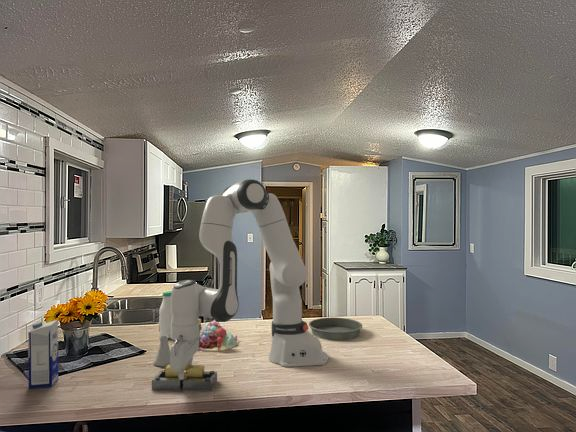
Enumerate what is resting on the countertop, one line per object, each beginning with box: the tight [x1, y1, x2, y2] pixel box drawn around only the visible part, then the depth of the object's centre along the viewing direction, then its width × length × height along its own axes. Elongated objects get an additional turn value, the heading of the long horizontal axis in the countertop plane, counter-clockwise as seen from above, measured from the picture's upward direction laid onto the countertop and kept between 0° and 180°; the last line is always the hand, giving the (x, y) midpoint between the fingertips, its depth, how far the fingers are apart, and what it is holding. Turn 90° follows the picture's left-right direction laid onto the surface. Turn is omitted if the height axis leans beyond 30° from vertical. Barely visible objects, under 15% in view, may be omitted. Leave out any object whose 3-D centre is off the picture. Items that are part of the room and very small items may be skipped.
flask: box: [153, 336, 171, 368], centre depth 159 cm, size 7×7×10 cm
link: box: [151, 369, 183, 391], centre depth 140 cm, size 9×8×3 cm
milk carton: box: [27, 319, 59, 389], centre depth 141 cm, size 7×7×20 cm
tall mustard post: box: [164, 364, 205, 384], centre depth 140 cm, size 12×3×5 cm, turn 87°
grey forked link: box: [182, 370, 218, 392], centre depth 140 cm, size 9×8×3 cm
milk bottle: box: [158, 290, 172, 339], centre depth 194 cm, size 8×8×20 cm
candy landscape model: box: [198, 318, 240, 353], centre depth 185 cm, size 25×24×9 cm
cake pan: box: [308, 317, 363, 341], centre depth 199 cm, size 25×25×4 cm
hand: (185, 374), depth 140 cm, fingers open, 6 cm apart
